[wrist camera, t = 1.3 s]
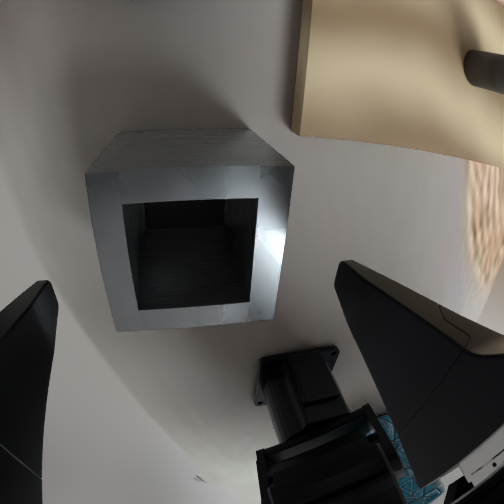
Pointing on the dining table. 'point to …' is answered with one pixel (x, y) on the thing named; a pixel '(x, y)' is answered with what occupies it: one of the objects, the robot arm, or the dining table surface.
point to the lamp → (410, 471)
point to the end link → (191, 238)
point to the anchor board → (404, 75)
